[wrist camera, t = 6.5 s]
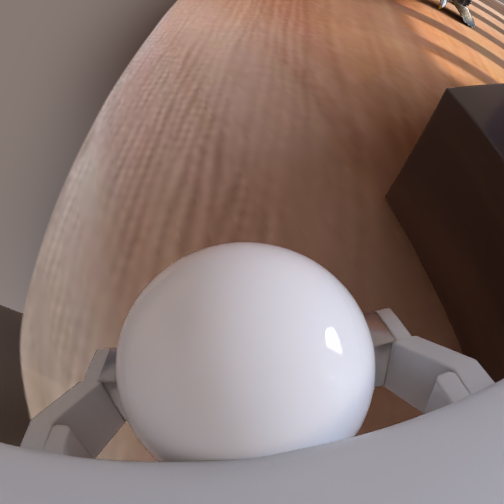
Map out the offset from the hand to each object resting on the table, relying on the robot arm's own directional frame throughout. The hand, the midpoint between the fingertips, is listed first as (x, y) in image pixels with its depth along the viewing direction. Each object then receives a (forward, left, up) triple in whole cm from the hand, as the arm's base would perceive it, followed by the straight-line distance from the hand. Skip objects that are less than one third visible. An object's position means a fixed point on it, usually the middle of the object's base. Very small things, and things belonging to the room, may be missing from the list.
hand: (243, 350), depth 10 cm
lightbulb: (0, -1, -6) cm, 6 cm away
